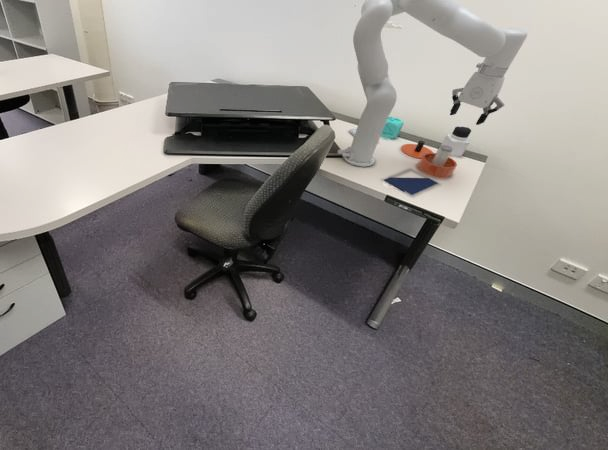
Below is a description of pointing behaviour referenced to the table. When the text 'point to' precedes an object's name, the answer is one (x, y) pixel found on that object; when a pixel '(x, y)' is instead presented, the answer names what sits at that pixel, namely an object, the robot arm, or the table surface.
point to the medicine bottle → (457, 140)
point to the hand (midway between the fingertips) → (465, 119)
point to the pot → (436, 170)
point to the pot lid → (415, 150)
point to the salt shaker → (442, 155)
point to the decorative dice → (392, 127)
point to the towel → (411, 184)
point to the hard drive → (353, 131)
